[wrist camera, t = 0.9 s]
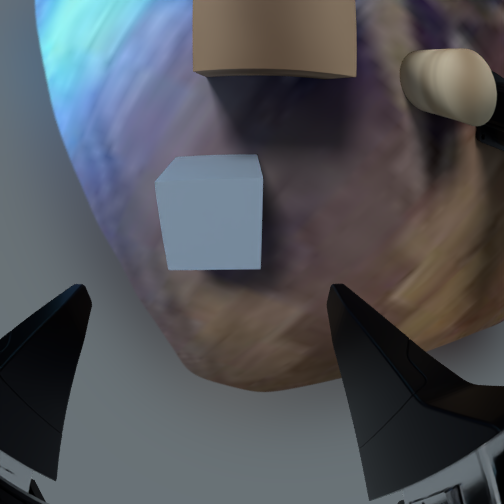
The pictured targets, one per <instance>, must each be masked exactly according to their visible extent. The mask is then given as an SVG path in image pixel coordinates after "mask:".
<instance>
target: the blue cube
mask: <svg viewBox="0 0 504 504" xmlns="http://www.w3.org/2000/svg"><path fill="white" fill-rule="evenodd" d="M155 189H156V197H157V204H158V211H159V218H160V224H161V230H162V236H163V242H164V248H165V253H166V259H167V264H168V269H169V270H233V269H261V241H262V204H263V176H262V172H261V168H260V164H259V160H258V156H257V154H236V155H203V156H184V157H176V158H175V159H174V160H173V161H172V162H171V164H170V165H169V166H168V167H167V168H166V169H165V170H164V172H163V173H162V174H161V175H160V176H159V178H158V179H157V180H156V181H155Z"/></svg>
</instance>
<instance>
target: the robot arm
mask: <svg viewBox="0 0 504 504" xmlns="http://www.w3.org/2000/svg"><path fill="white" fill-rule="evenodd" d="M491 72H492V74H493V77H494V80H495V84H496V91H497V101H496V107H495V110H494V113H493V115H492V117H491V118H490V120H489V121H488V122H487V123H485V124H484V125H481V126H477V133H476V137H477V140H478V141H480V142H482V143H485V144H487V145H490V146H493V147H495V148H498V149H500V150H503V151H504V78H502V77H501V76H499V75H498V74H496V73H495V72H493V71H491ZM481 135H482V137H481ZM91 307H92V302H91V299H90V296H89V294H88V292H87V290H86V287H85V286H84V285H83V284H74V285H73V286H71V287H70V288H68V289H67V290H65V291H64V292H63V293H61V294H60V295H58V296H57V297H55V298H54V299H53V300H51V301H50V302H48V303H47V304H46V305H45V306H43V307H42V308H40V309H39V310H38V311H36V312H35V313H34V314H32V315H31V316H30V317H28V318H27V319H26V320H24V321H23V322H22V323H20V324H19V325H18V326H16V327H15V328H14V329H13V330H12V331H10V332H9V333H7V334H6V335H5V336H4V337H2V338H1V339H0V504H48V503H46V502H45V500H44V498H43V496H42V494H41V492H40V490H39V488H38V486H37V484H36V482H35V480H33V479H31V476H32V472H33V471H35V472H38V473H39V474H41V475H43V476H45V477H48V478H50V479H52V480H54V481H56V479H57V470H58V461H59V452H60V445H61V438H62V431H63V425H64V420H65V414H66V410H67V405H68V399H69V396H70V391H71V387H72V383H73V379H74V375H75V371H76V367H77V364H78V359H79V356H80V353H81V350H82V346H83V342H84V338H85V335H86V330H87V325H88V320H89V316H90V312H91ZM327 311H328V317H329V323H330V329H331V336H332V342H333V346H334V350H335V354H336V358H337V361H338V365H339V369H340V372H341V376H342V380H343V384H344V388H345V391H346V396H347V399H348V403H349V408H350V412H351V416H352V420H353V424H354V428H355V433H356V438H357V442H358V446H359V452H360V457H361V461H362V466H363V471H364V476H365V481H366V487H367V492H368V497H369V501H371V500H374V499H378V498H381V497H384V496H387V495H390V494H393V493H396V492H398V491H401V490H402V493H403V498H404V500H401V501H399V502H398V504H504V386H486V385H475V384H472V383H469V382H467V381H465V380H463V379H462V378H460V377H459V376H458V375H456V374H455V373H453V372H452V371H451V370H449V369H448V368H447V367H445V366H444V365H442V364H441V363H440V362H438V361H437V360H436V359H434V358H433V357H432V356H430V355H429V354H428V353H426V352H425V351H424V350H423V349H421V348H420V347H419V346H418V345H417V344H415V343H414V342H413V341H412V340H411V339H409V338H408V337H407V336H406V335H405V334H404V333H402V332H401V331H400V330H399V329H398V328H396V327H395V326H394V325H393V324H392V323H390V322H389V321H388V320H387V319H386V318H384V317H383V316H382V315H381V314H380V313H378V312H377V311H376V310H375V309H374V308H372V307H371V306H370V305H369V304H368V303H366V302H365V301H364V300H363V299H361V298H360V297H359V296H358V295H356V294H355V293H354V292H353V291H352V290H350V289H349V288H348V287H347V286H345V285H344V284H332V285H331V287H330V291H329V296H328V300H327Z"/></svg>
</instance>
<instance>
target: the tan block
mask: <svg viewBox="0 0 504 504" xmlns="http://www.w3.org/2000/svg"><path fill="white" fill-rule="evenodd" d="M356 58H357V45H356V9H355V0H193V72H196V73H198V74H201V75H203V76H205V77H216V76H242V75H267V76H292V77H306V78H318V79H335V78H348V77H356Z"/></svg>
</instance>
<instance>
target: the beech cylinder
mask: <svg viewBox="0 0 504 504" xmlns="http://www.w3.org/2000/svg"><path fill="white" fill-rule="evenodd" d="M400 82H401V86H402V89H403V91H404V94H405V95H406V97H407V99H408V100H409V101H410V102H411V103H412V104H413V105H414V106H415V107H416V108H418V109H419V110H422V111H424V112H428V113H432V114H436V115H440V116H443V117H447V118H450V119H454V120H457V121H460V122H463V123H466V124H469V125H472V126H481V125H484V124H485V123H487V122H488V121H489V120H490V118H491V117H492V115H493V113H494V110H495V107H496V101H497V91H496V84H495V80H494V77H493V74H492V72H491V70H490V68H489V66H488V65H487V63H486V62H485V60H484V59H483V58H482V57H481V56H480V55H479V54H477V53H476V52H474V51H472V50H469V49H434V50H419V51H413V52H411V53H409V54H408V55H407V56H406V57H405V58H404V60H403V61H402V64H401V68H400Z"/></svg>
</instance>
